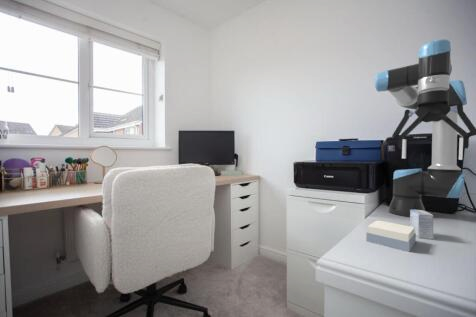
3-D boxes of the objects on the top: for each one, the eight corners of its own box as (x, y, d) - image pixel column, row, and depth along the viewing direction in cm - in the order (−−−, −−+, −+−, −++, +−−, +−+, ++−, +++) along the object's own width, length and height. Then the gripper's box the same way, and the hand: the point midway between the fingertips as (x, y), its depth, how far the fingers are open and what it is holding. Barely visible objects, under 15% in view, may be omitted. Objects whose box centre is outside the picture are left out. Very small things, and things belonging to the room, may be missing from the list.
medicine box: (433, 239, 77) (434, 215, 77) (418, 238, 78) (418, 213, 78) (423, 232, 84) (424, 210, 84) (409, 231, 85) (409, 209, 85)
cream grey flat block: (376, 233, 83) (376, 219, 83) (415, 241, 74) (415, 226, 74) (366, 240, 74) (366, 226, 74) (409, 251, 66) (409, 235, 66)
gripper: (383, 96, 76) (381, 158, 77) (494, 80, 59) (490, 160, 59) (388, 100, 82) (386, 158, 82) (490, 87, 64) (487, 160, 64)
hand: (430, 159), depth 70 cm, fingers open, 13 cm apart
